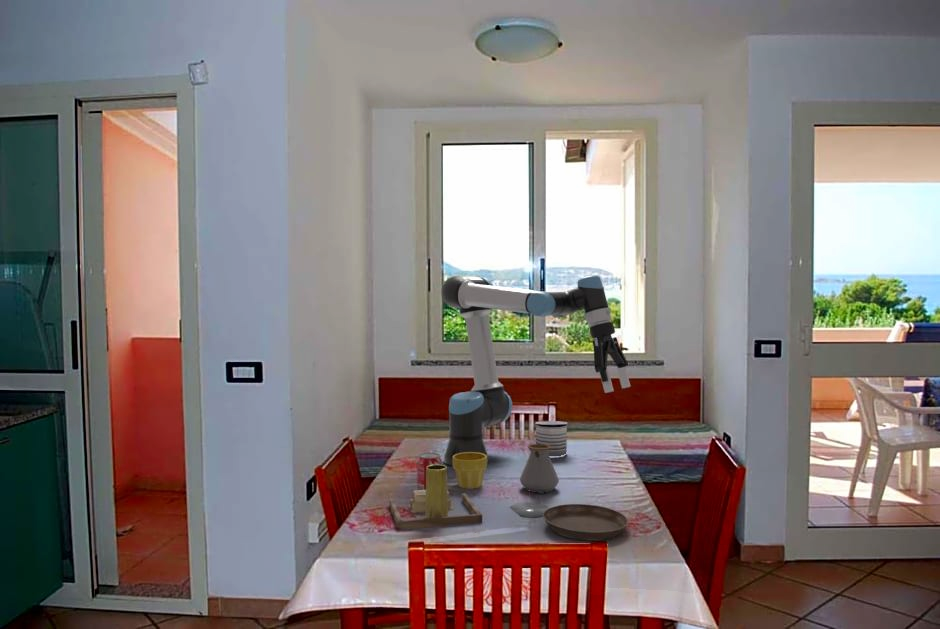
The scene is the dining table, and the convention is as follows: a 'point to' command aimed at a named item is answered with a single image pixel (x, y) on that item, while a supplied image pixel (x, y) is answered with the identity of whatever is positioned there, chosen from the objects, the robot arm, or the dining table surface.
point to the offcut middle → (422, 505)
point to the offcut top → (423, 496)
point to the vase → (436, 491)
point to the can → (552, 436)
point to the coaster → (529, 509)
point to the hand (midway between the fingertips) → (618, 389)
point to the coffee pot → (539, 470)
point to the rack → (438, 521)
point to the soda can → (422, 463)
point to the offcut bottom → (424, 511)
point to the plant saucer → (585, 521)
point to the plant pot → (469, 468)
